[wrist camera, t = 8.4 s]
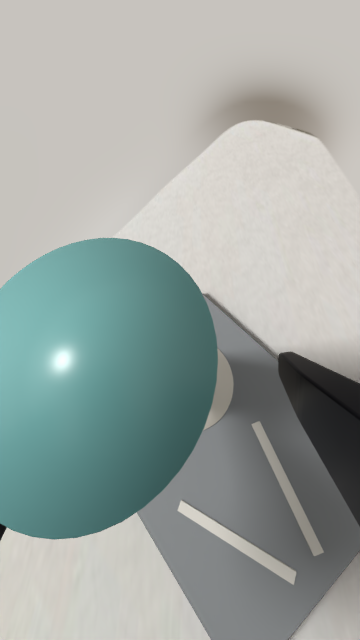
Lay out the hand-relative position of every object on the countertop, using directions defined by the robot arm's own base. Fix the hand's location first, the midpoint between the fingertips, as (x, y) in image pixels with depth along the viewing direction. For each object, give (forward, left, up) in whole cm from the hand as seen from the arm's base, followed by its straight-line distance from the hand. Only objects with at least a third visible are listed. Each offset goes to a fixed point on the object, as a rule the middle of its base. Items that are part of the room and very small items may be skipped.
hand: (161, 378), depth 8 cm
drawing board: (-4, +1, -9) cm, 10 cm away
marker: (0, 0, -8) cm, 8 cm away
